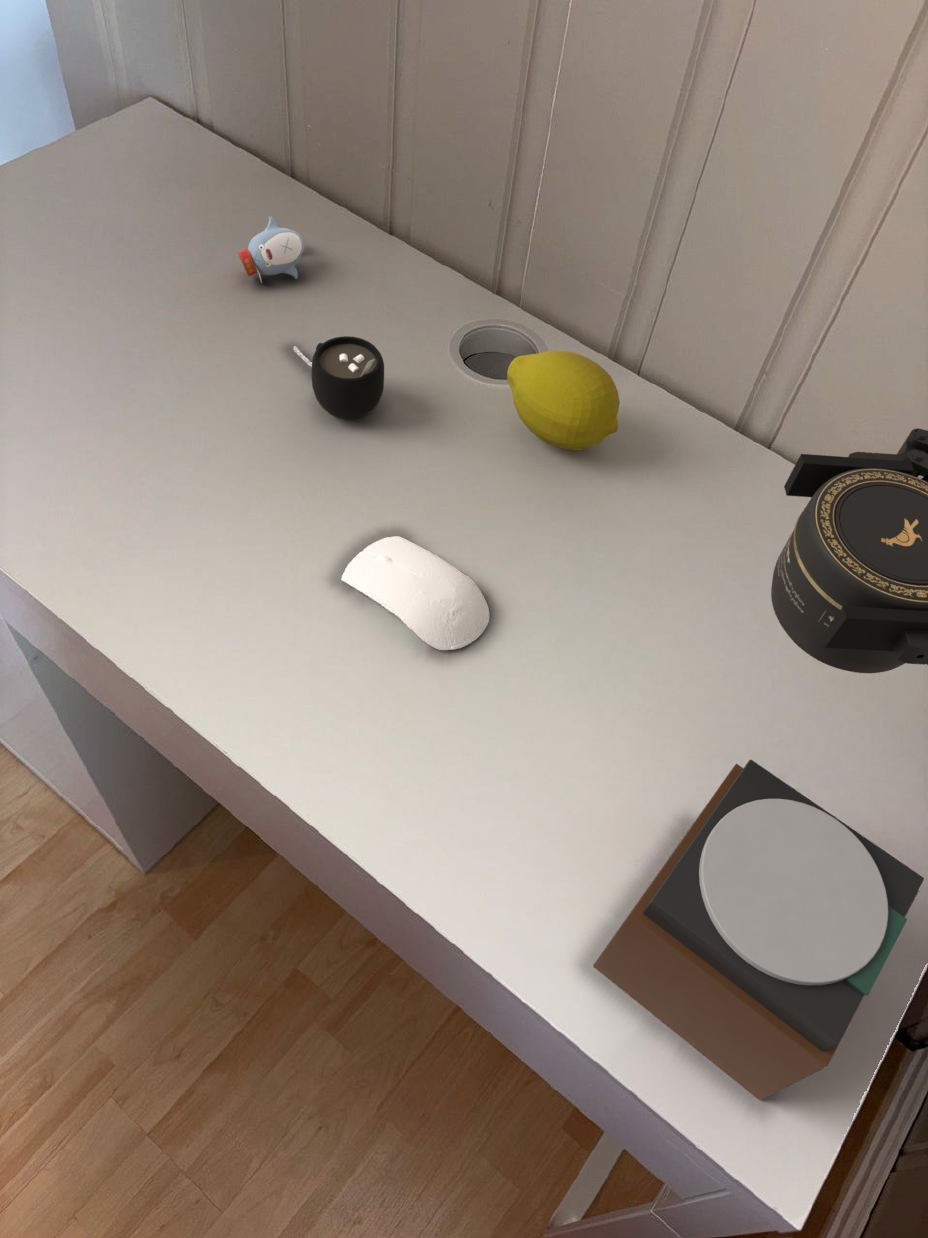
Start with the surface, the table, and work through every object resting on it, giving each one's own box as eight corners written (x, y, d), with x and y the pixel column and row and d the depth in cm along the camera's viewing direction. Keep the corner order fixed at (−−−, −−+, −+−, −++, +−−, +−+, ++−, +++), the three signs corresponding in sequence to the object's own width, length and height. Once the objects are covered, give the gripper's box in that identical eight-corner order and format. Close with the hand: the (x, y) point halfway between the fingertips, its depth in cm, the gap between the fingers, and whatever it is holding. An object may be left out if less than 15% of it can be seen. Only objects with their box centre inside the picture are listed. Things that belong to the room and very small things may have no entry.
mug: (398, 412, 87) (402, 346, 81) (341, 441, 85) (340, 375, 79) (321, 338, 92) (318, 270, 86) (264, 363, 89) (257, 295, 83)
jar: (940, 590, 60) (1008, 508, 54) (907, 713, 55) (977, 637, 49) (787, 525, 62) (834, 439, 56) (739, 637, 57) (787, 555, 51)
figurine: (295, 238, 100) (325, 253, 98) (240, 286, 98) (270, 303, 96) (279, 196, 95) (310, 212, 94) (221, 246, 93) (252, 263, 92)
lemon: (630, 444, 88) (652, 376, 81) (574, 487, 84) (593, 419, 78) (541, 381, 91) (555, 310, 85) (483, 419, 88) (494, 348, 81)
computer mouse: (391, 528, 80) (392, 509, 78) (504, 613, 76) (508, 595, 74) (331, 575, 76) (331, 557, 74) (447, 666, 73) (449, 650, 71)
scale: (847, 942, 63) (942, 873, 53) (759, 1101, 57) (848, 1057, 47) (689, 828, 67) (750, 742, 57) (592, 966, 61) (640, 898, 51)
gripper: (1236, 782, 52) (829, 764, 50) (1081, 470, 65) (754, 447, 63) (1355, 711, 46) (896, 689, 44) (1157, 382, 59) (797, 355, 57)
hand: (812, 546), depth 53 cm, fingers closed on jar, 10 cm apart
